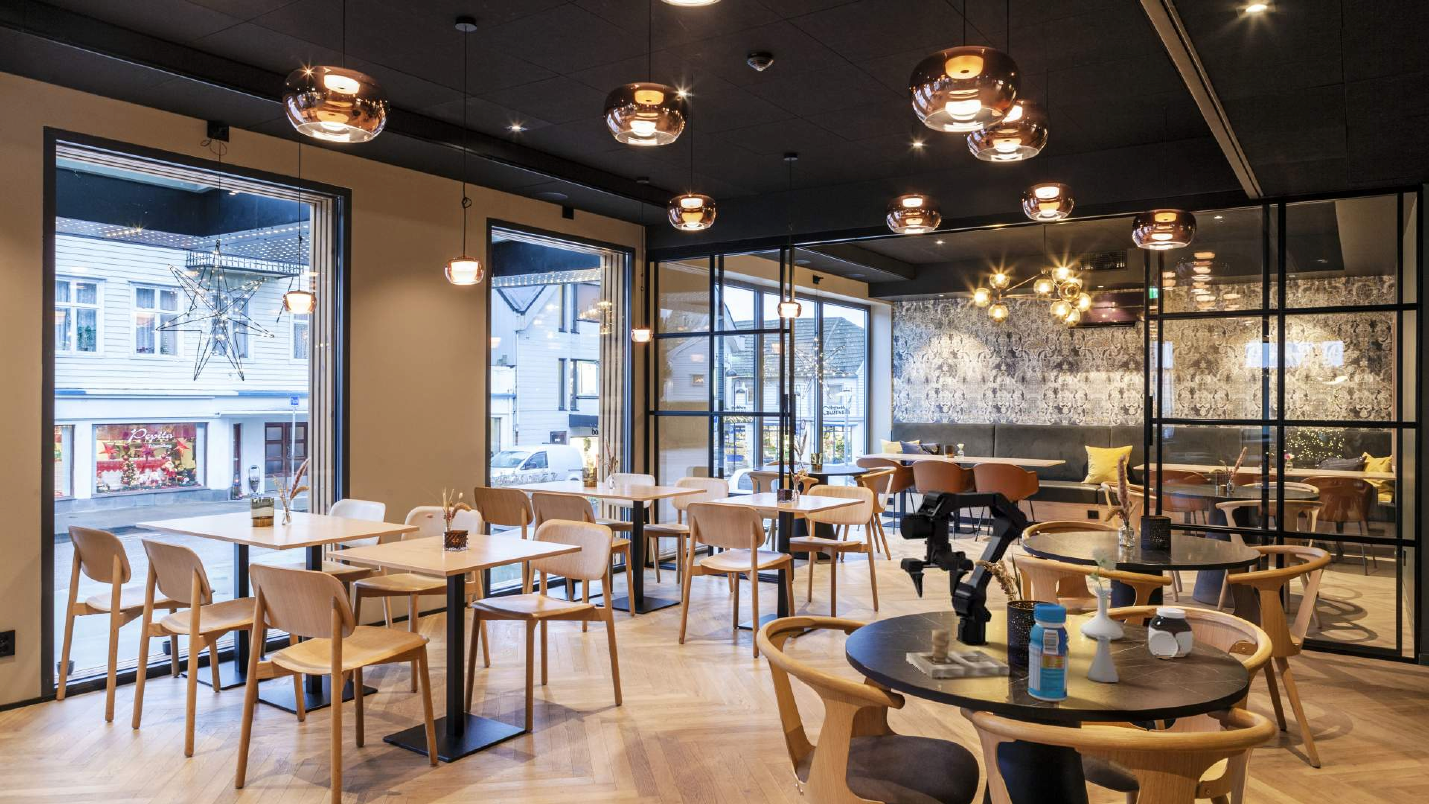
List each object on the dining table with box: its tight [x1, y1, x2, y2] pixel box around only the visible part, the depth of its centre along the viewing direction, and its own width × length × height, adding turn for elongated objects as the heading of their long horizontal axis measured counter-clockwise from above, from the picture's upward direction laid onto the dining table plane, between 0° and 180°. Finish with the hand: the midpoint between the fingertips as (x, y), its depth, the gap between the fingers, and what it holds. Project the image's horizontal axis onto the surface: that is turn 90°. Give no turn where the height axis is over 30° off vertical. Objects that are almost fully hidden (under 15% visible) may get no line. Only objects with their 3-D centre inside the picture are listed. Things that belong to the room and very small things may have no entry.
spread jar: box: [1147, 606, 1194, 657], centre depth 243 cm, size 12×11×12 cm
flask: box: [1086, 636, 1120, 684], centre depth 220 cm, size 7×7×10 cm
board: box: [906, 650, 1010, 679], centre depth 226 cm, size 20×14×2 cm
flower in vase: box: [1079, 546, 1125, 640], centre depth 261 cm, size 13×11×25 cm
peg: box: [931, 628, 950, 663], centre depth 225 cm, size 4×4×9 cm
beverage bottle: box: [1027, 602, 1070, 702], centre depth 206 cm, size 8×8×20 cm
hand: (936, 596), depth 246 cm, fingers open, 9 cm apart
